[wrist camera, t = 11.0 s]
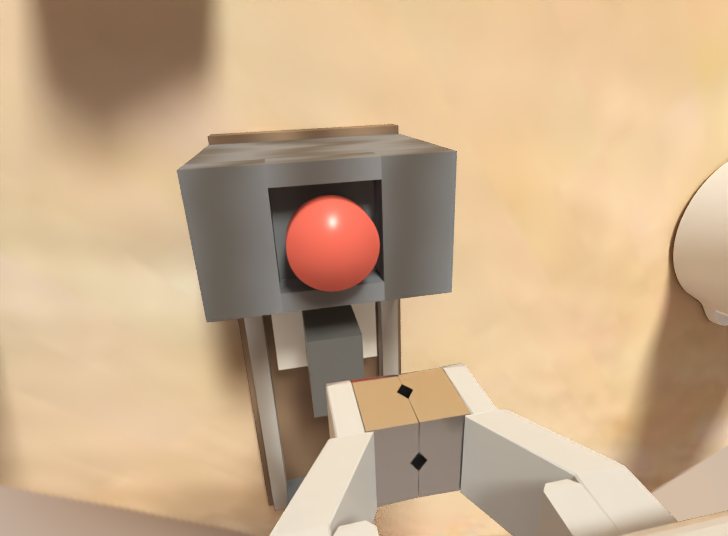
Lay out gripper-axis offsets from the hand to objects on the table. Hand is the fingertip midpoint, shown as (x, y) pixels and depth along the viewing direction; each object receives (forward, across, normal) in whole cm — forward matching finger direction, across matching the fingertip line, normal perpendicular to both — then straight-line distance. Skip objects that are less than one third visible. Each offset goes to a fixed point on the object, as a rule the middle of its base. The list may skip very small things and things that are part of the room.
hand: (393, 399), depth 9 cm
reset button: (+12, 0, 0) cm, 12 cm away
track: (+23, 0, +12) cm, 26 cm away
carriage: (+22, 0, +8) cm, 23 cm away
